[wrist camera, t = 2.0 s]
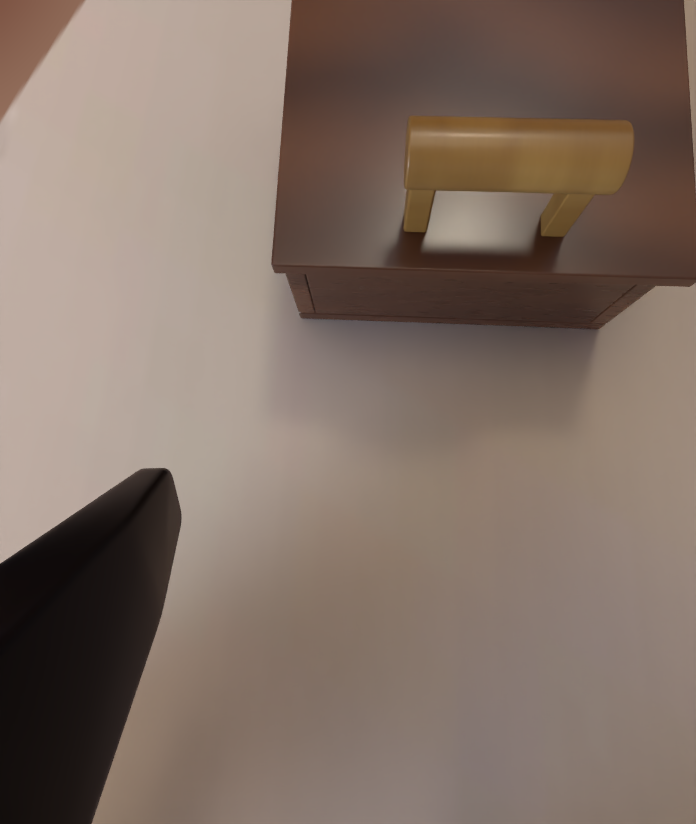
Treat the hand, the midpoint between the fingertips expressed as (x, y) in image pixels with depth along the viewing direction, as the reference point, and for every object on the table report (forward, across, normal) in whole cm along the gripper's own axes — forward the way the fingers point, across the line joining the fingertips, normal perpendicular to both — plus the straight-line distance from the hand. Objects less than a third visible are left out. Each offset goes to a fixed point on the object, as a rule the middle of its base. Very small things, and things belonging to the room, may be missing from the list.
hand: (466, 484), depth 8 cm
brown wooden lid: (+13, -2, -4) cm, 14 cm away
